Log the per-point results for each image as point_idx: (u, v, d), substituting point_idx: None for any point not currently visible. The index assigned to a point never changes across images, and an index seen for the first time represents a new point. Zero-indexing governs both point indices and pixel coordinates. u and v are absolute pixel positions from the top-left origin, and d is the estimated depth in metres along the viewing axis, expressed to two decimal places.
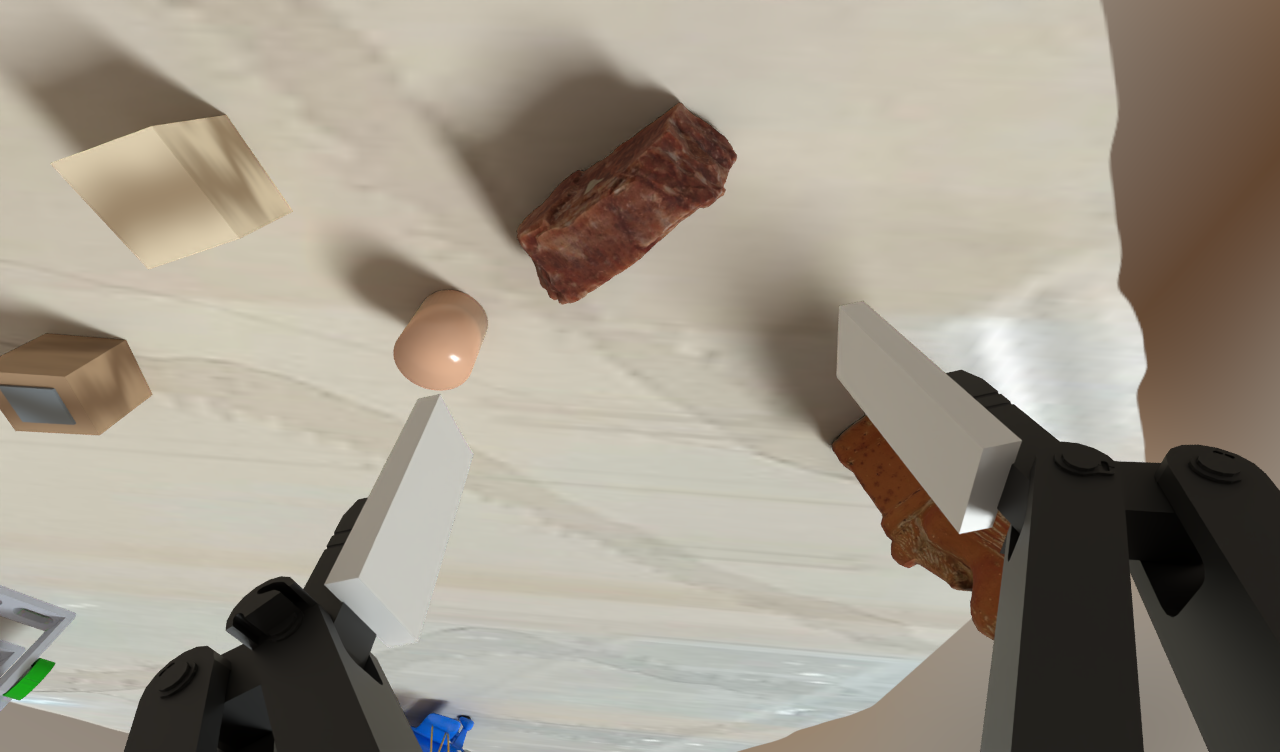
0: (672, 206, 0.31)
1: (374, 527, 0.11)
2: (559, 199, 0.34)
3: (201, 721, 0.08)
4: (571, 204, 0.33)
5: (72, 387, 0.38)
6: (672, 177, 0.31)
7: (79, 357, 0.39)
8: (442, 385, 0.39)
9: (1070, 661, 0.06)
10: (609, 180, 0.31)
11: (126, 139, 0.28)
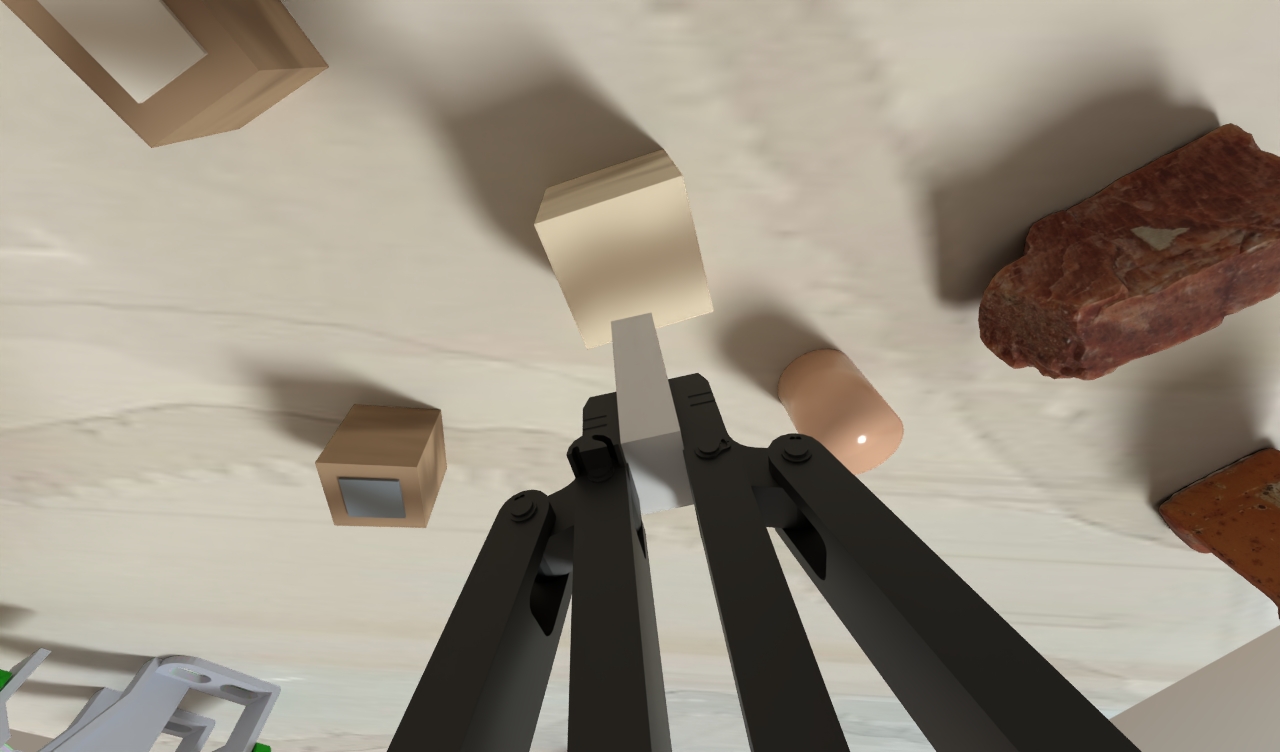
0: None
1: (638, 406, 0.13)
2: (1106, 254, 0.26)
3: (529, 560, 0.10)
4: (1134, 261, 0.26)
5: (419, 477, 0.31)
6: None
7: (412, 438, 0.33)
8: (849, 470, 0.33)
9: (756, 618, 0.08)
10: (1223, 233, 0.24)
11: (643, 192, 0.21)
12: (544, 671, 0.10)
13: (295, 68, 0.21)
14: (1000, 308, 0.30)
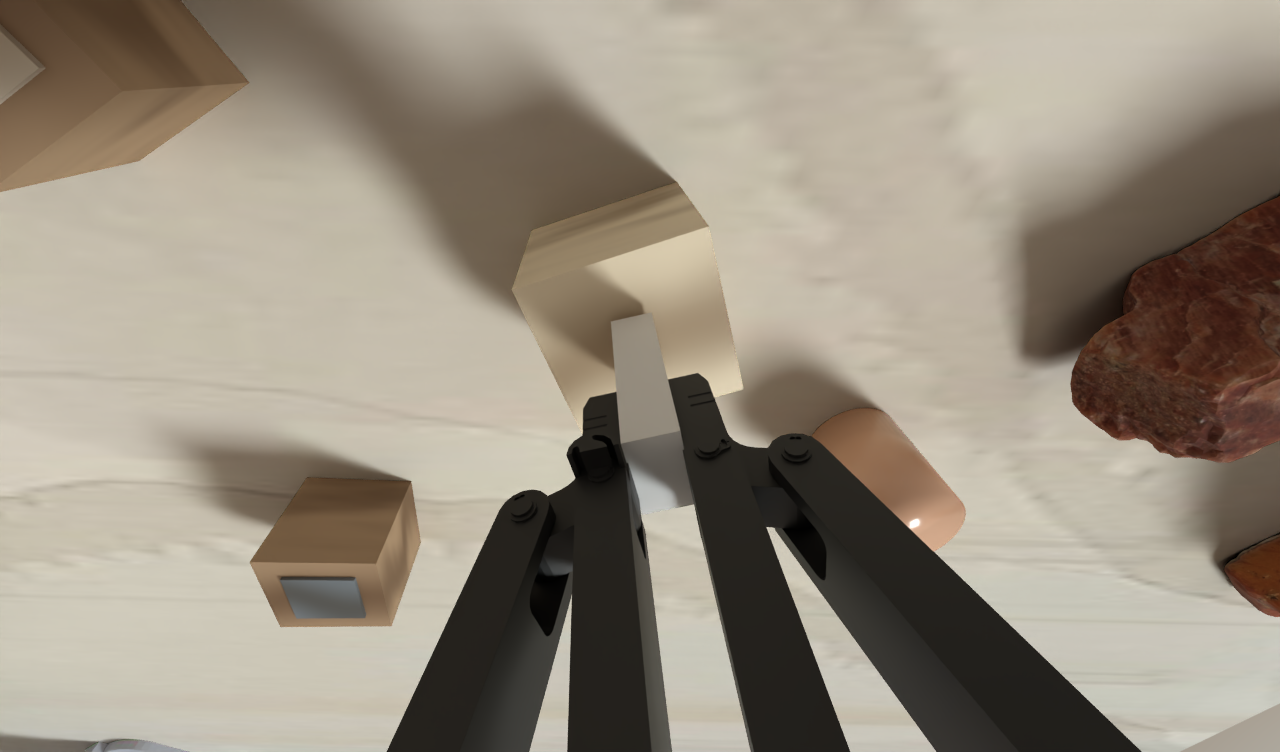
0: None
1: (638, 406, 0.13)
2: (1247, 316, 0.21)
3: (529, 560, 0.10)
4: None
5: (379, 574, 0.26)
6: None
7: (373, 522, 0.27)
8: None
9: (756, 617, 0.08)
10: None
11: (656, 248, 0.16)
12: (544, 670, 0.10)
13: (191, 86, 0.16)
14: (1102, 374, 0.25)
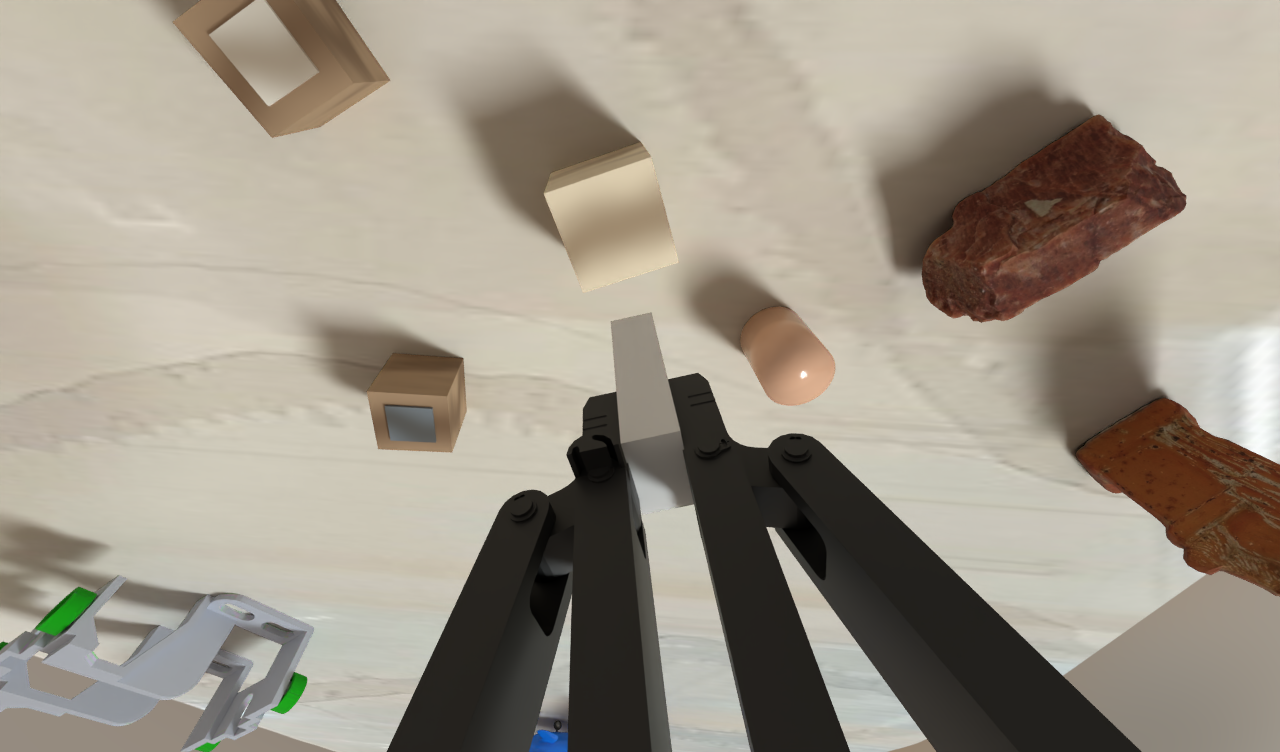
0: (1152, 217, 0.32)
1: (638, 406, 0.13)
2: (1004, 223, 0.35)
3: (529, 560, 0.10)
4: (1024, 226, 0.34)
5: (448, 406, 0.39)
6: (1157, 190, 0.31)
7: (441, 377, 0.40)
8: (795, 400, 0.40)
9: (756, 617, 0.08)
10: (1083, 200, 0.32)
11: (623, 169, 0.29)
12: (544, 670, 0.10)
13: (371, 81, 0.29)
14: (935, 272, 0.39)
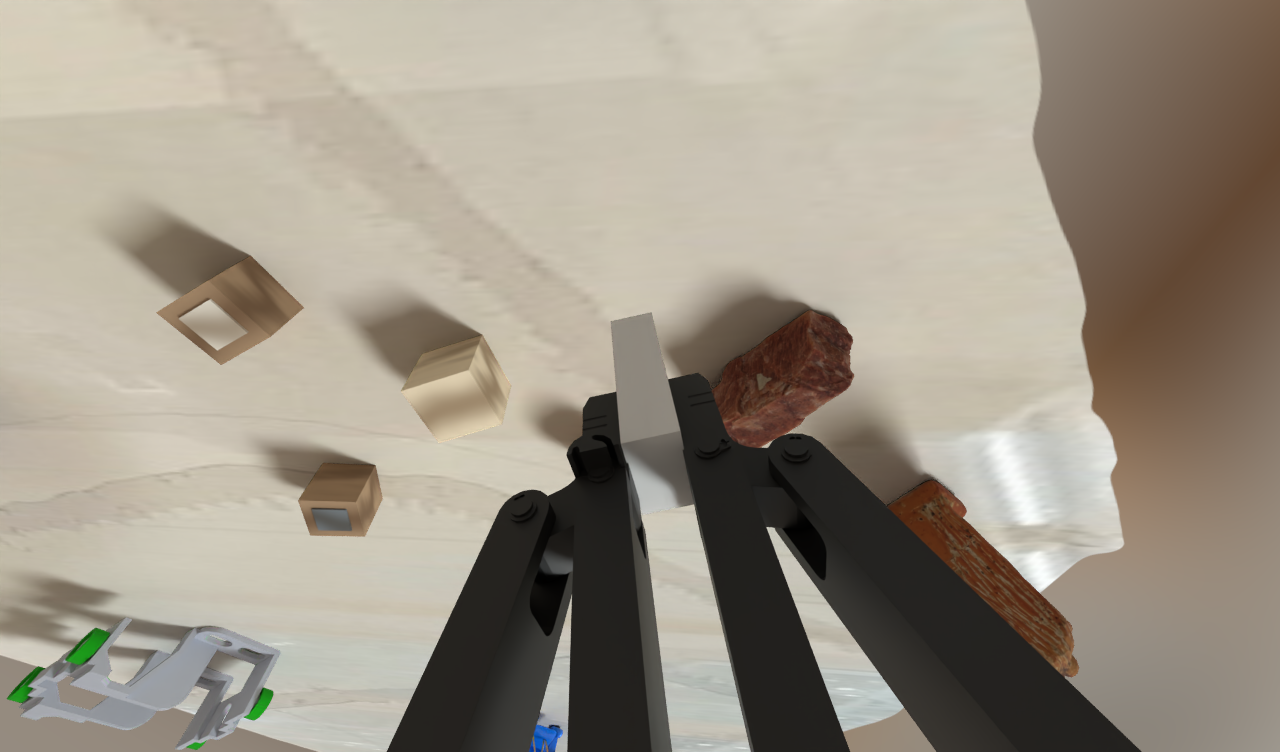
0: (823, 396, 0.48)
1: (638, 406, 0.13)
2: (740, 391, 0.51)
3: (529, 560, 0.10)
4: (750, 395, 0.50)
5: (357, 507, 0.55)
6: (822, 380, 0.47)
7: (355, 484, 0.56)
8: None
9: (756, 617, 0.08)
10: (779, 384, 0.48)
11: (451, 377, 0.45)
12: (544, 670, 0.10)
13: (286, 322, 0.44)
14: None
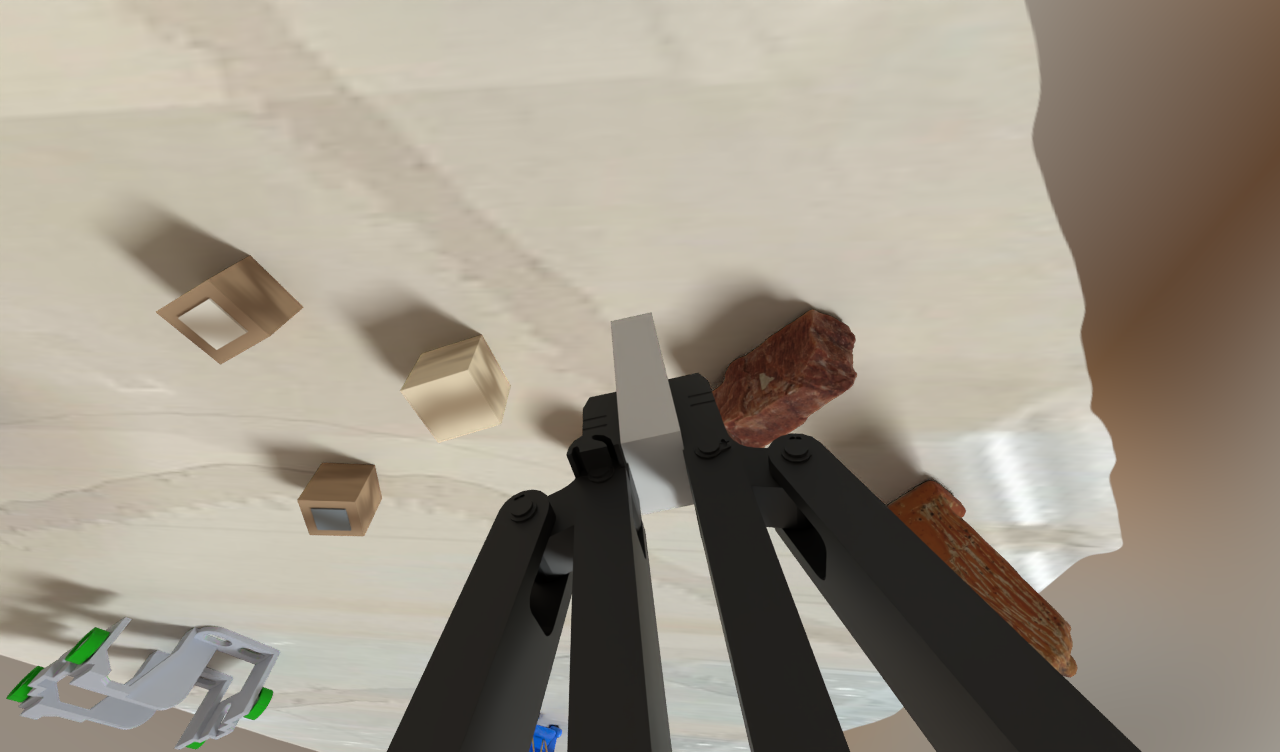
0: (826, 395, 0.48)
1: (638, 406, 0.13)
2: (743, 391, 0.51)
3: (528, 560, 0.10)
4: (753, 395, 0.50)
5: (357, 507, 0.55)
6: (825, 379, 0.47)
7: (354, 483, 0.56)
8: None
9: (756, 618, 0.08)
10: (782, 383, 0.48)
11: (450, 376, 0.45)
12: (544, 670, 0.10)
13: (286, 321, 0.44)
14: None
